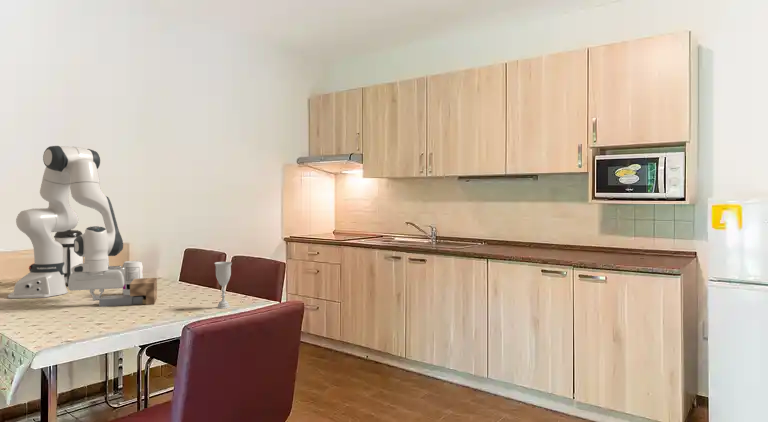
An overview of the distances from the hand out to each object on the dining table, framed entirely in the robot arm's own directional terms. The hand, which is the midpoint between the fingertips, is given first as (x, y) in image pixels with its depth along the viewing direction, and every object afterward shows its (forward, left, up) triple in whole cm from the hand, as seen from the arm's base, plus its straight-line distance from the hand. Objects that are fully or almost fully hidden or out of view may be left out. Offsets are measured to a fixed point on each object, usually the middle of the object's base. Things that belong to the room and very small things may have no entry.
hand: (97, 300), depth 216 cm
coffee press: (-23, +59, -2) cm, 63 cm away
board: (+9, 0, -2) cm, 10 cm away
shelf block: (+18, +2, -2) cm, 18 cm away
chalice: (+49, -19, -2) cm, 53 cm away
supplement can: (+11, +21, -2) cm, 23 cm away
